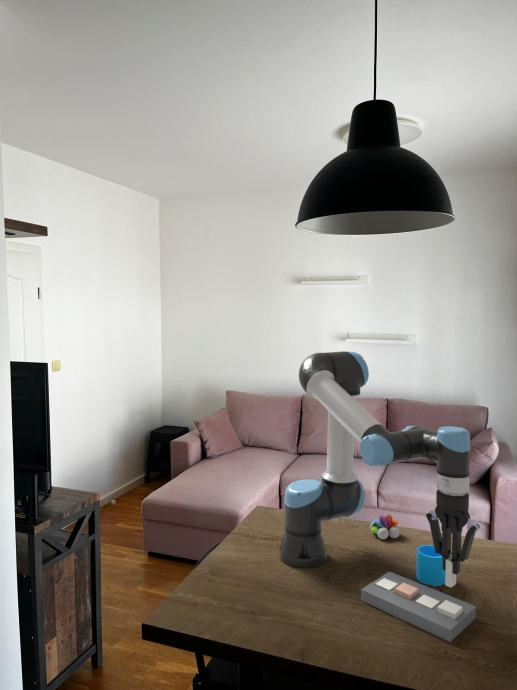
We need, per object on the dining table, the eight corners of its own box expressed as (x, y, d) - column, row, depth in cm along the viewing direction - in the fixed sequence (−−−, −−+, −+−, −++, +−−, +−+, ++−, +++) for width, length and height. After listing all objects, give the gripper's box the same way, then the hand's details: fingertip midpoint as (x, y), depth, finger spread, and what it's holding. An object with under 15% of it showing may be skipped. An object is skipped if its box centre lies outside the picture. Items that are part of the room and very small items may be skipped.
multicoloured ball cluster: (403, 539, 178) (403, 518, 178) (377, 542, 176) (377, 521, 176) (392, 529, 186) (392, 509, 186) (366, 531, 184) (367, 511, 184)
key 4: (437, 618, 130) (437, 606, 129) (445, 611, 133) (445, 600, 132) (454, 626, 126) (454, 614, 126) (462, 618, 129) (462, 606, 129)
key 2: (394, 599, 138) (394, 588, 138) (403, 593, 141) (403, 582, 141) (409, 606, 135) (409, 594, 135) (418, 599, 138) (418, 588, 138)
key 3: (415, 612, 134) (415, 601, 134) (423, 605, 137) (423, 594, 137) (431, 619, 131) (431, 608, 131) (439, 612, 134) (439, 601, 134)
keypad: (360, 600, 140) (361, 589, 140) (389, 581, 150) (389, 571, 150) (450, 642, 122) (450, 630, 122) (475, 618, 132) (476, 606, 132)
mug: (447, 587, 147) (447, 559, 146) (417, 583, 149) (417, 556, 148) (443, 567, 158) (444, 541, 158) (415, 564, 160) (415, 538, 160)
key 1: (375, 594, 142) (375, 583, 142) (384, 588, 146) (384, 578, 145) (389, 600, 139) (389, 589, 139) (398, 594, 142) (398, 583, 142)
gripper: (420, 488, 130) (418, 580, 131) (472, 501, 120) (470, 600, 122) (435, 481, 135) (433, 570, 136) (485, 493, 125) (483, 588, 127)
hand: (450, 584), depth 129 cm, fingers closed
